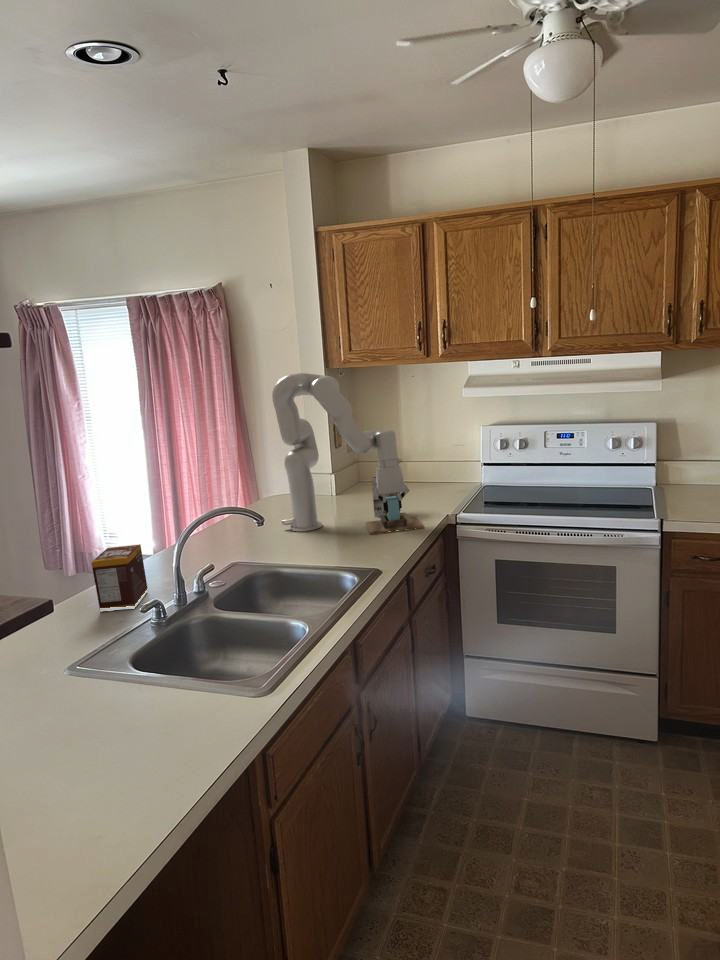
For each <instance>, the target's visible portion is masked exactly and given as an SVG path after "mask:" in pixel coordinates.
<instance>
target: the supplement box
mask: <svg viewBox="0 0 720 960" xmlns="http://www.w3.org/2000/svg"><path fill="white" fill-rule="evenodd" d="M141 545H142V544H131V545H130V544H129V545H121V546H113V547H112V546H110V547H109V546H108V547H107V548H105V549H104V550H103V551H102V552H101V553H100V554H99V555H97V556H96V557H95V558H94V560H93V559H92V561H91V568H92V573H93V578H94V584H95V590H96V597H97V600H98V606H99V609H100V608H110V607H126V606H135V604H136V603H137V602H138V600H139V599H140V598H141V596H142V595H143V594H144V593H145V591H146V590H147V588H148V582H147V577H146V571H145V565H144V558H143V551H142V546H141Z"/></svg>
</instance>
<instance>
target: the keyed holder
mask: <svg viewBox="0 0 720 960" xmlns="http://www.w3.org/2000/svg"><path fill="white" fill-rule="evenodd" d="M379 518H380V519H378V520H371V521H365V526H366V529H367V528H368V529H367V531H368V534H369V535H370V534H372V535H378V534H377V533H381V534H383V533H382V532H388V531H396V530H405V529H414V530H416V529H415V528H422V529H424V525H423V522H422V521H420V519H419V518H418V517H417V515H412V516H405V515H404V514H403V513H402V512H400V520H392V521H389V519H388V518H387V515H380V517H379Z"/></svg>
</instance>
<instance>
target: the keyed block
mask: <svg viewBox="0 0 720 960" xmlns="http://www.w3.org/2000/svg"><path fill="white" fill-rule="evenodd" d="M386 501H387V504H388V513H387V518H388V519H389V521H392V520H400V513H401V511H400V510H401V509H400V510H399V500H398V498H397V497H396V496H392V497H386Z"/></svg>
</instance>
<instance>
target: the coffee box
mask: <svg viewBox="0 0 720 960" xmlns="http://www.w3.org/2000/svg"><path fill="white" fill-rule="evenodd" d="M370 479H371V490H372V492H371V493H372V494H373V493H374V491H375V489H376V487H377V485H376V476H373V477H371V478H370ZM377 494H378V495H381V494H379V493H377ZM381 496H382V495H381ZM392 496H396V497H397V494H396V493H393V494H387V495H386V497H392ZM397 498H398V497H397ZM372 502H373V512H374V517H375V518H376V517H377V518H381V517H380V515H387V513H386V510H384V506H383V502H382V501H381V500H380V499H379V498H377V497H375V496H373V495H372Z"/></svg>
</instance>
